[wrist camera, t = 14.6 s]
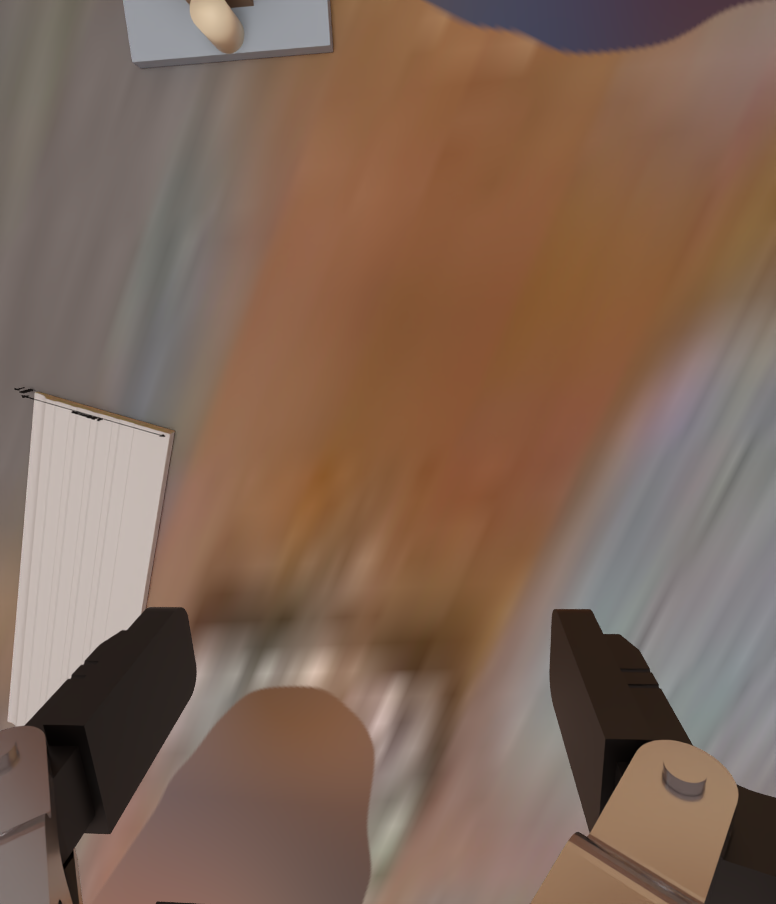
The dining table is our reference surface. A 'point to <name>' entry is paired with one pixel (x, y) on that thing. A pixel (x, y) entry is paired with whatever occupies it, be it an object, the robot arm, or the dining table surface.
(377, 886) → the dining table surface
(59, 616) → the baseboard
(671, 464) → the dining table surface
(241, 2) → the brown rectangular block
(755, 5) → the dining table surface
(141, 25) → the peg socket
